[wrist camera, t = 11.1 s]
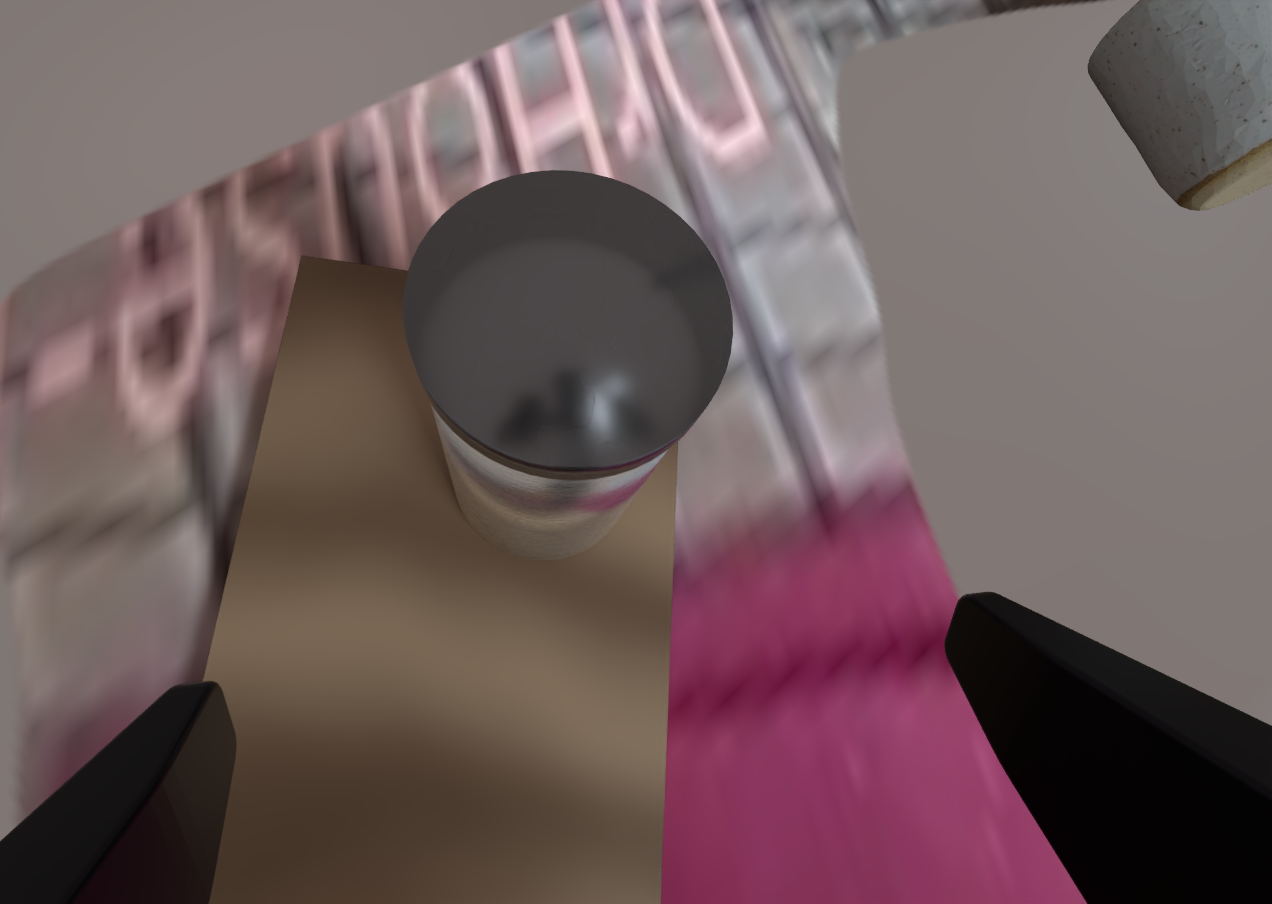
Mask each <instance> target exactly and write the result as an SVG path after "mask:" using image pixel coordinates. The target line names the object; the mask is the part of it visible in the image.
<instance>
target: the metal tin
mask: <svg viewBox="0 0 1272 904" xmlns="http://www.w3.org/2000/svg"><path fill="white" fill-rule="evenodd" d="M403 322H404V328H405V334H406V340H407V344H408V348H409V351H410V354H411V358H412V361H413V364H414V367H415V370H416V373H417V376H418V380H419V382H420V384H421V386H422V388H423V390H424V392H425V394H426V397H427V399H428V400H429V402H430V403H431V406H432V410H433V414H434V417H435V421H436V424H437V428H438V432H439V435H440V439H441V443H442V446H443V450H444V454H445V457H446V461H447V464H448V468H449V472H450V475H451V479H452V483H453V486H454V490H455V493H456V497H457V500H458V503H459V506H460V508H461V510H462V512H463V514H464V516H465V518H466V519H467V521H468V522H469V524H470V525H471V527H472V528H473V529H474V530H475V531H476V532H477V533H478V534H479V535H480V536H481V537H482V538H483V539H484V540H486V541H487V542H488V543H489V544H491V545H492V546H494V547H496V548H497V549H499V550H501V551H503V552H505V553H507V554H510V555H513V556H516V557H519V558H524V559H529V560H541V561H546V560H557V559H562V558H566V557H570V556H573V555H575V554H578V553H580V552H582V551H584V550H586V549H588V548H590V547H591V546H593V545H594V544H596V543H597V542H599V541H600V540H601V539H602V538H603V537H604V536H605V535H606V534H607V533H608V532H609V531H610V530H611V529H612V527H613V526H614V525H615V524H616V522H617V521H618V520H619V518H620V517H621V515H622V514H623V513H624V511H625V510H626V508H627V507H628V506H629V504H630V503H631V501H632V500H633V499H634V497H635V496H636V494H637V493H638V492H639V490H640V489H641V487H642V486H643V485H644V483H645V482H646V480H647V479H648V478H649V476H650V475H651V473H652V472H653V471H654V469H655V468H656V466H657V465H658V464H659V462H660V461H661V460H662V458H663V457H664V455H665V454H666V453H667V451H668V450H669V449H670V448H671V447H672V446H673V445H674V444H675V443H676V442H678V441H679V440H680V439H681V438H682V437H683V436H684V435H685V434H686V433H687V431H688V430H689V429H690V428H691V427H692V426H693V424H694V423H695V422H696V421H697V419H698V418H699V417H700V415H701V414H702V413H703V411H704V410H705V409H706V407H707V406H708V404H709V403H710V401H711V400H712V398H713V396H714V395H715V393H716V391H717V390H718V388H719V386H720V383H721V381H722V379H723V376H724V374H725V372H726V368H727V365H728V361H729V357H730V354H731V346H732V337H733V321H732V311H731V304H730V298H729V295H728V291H727V288H726V285H725V281H724V279H723V276H722V274H721V272H720V270H719V268H718V265H717V263H716V261H715V260H714V258H713V256H712V255H711V253H710V251H709V250H708V248H707V247H706V245H705V244H704V243H703V241H702V240H701V239H700V238H699V236H698V235H697V234H696V232H695V231H694V230H693V229H692V228H691V227H690V226H689V225H688V224H687V223H686V222H685V221H684V220H683V219H682V218H681V217H680V216H679V215H677V214H676V213H675V212H674V211H672V210H671V209H670V208H669V207H667V206H666V205H665V204H663V203H662V202H660V201H658V200H657V199H655V198H654V197H652V196H650V195H649V194H647V193H645V192H643V191H641V190H639V189H637V188H635V187H633V186H631V185H628V184H625V183H623V182H620V181H617V180H614V179H612V178H608V177H604V176H599V175H595V174H591V173H584V172H576V171H556V170H550V171H539V172H530V173H525V174H520V175H515V176H511V177H508V178H505V179H501V180H498V181H495V182H493V183H490V184H488V185H486V186H484V187H482V188H480V189H478V190H476V191H474V192H472V193H471V194H469V195H468V196H466V197H464V198H463V199H461V200H460V201H458V202H457V203H456V204H455V205H453V206H452V207H451V208H450V209H449V210H448V211H446V212H445V213H444V214H443V215H442V216H441V217H440V218H439V219H438V221H437V222H436V223H435V224H434V225H433V226H432V227H431V228H430V230H429V231H428V233H427V234H426V236H425V237H424V239H423V240H422V242H421V243H420V245H419V247H418V249H417V251H416V253H415V256H414V258H413V260H412V262H411V265H410V268H409V272H408V275H407V278H406V282H405V290H404V297H403Z"/></svg>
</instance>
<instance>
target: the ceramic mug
mask: <svg viewBox="0 0 1272 904" xmlns="http://www.w3.org/2000/svg"><path fill="white" fill-rule="evenodd" d="M1088 73H1089V75H1090V77H1091V79H1092V80H1093V82H1094V83H1095V85H1096V86H1097V88H1098V90H1099V91H1100V93H1101V94H1102V96H1103V97H1104V99H1105V100H1106V102H1107V104H1108V105H1109V107H1110V108H1111V110H1112V112H1113V113H1114V115H1115V117H1116V118H1117V120H1118V121H1119V123H1120V125H1121V126H1122V128H1123V129H1124V130H1125V132H1126V133H1127V135H1128V136H1129V137H1130V139H1131V140H1132V141H1133V143H1134V144H1135V146H1136V147H1137V149H1138V151H1139V152H1140V154H1141V156H1142V157H1143V159H1144V161H1145V163H1146V164H1147V166H1148V168H1149V169H1150V171H1151V172H1152V174H1153V176H1154V177H1155V179H1156V180H1157V182H1158V184H1159V185H1160V186H1161V187H1162V188H1163V189H1164V190H1165V192H1166V193H1167V194H1168V195H1169V196H1170V197H1171V198H1172V199H1173V200H1174V201H1175V202H1176V203H1177V204H1178V205H1179V206H1181V207H1184V208H1187V209H1190V210H1198V211H1200V210H1208V209H1211V208H1214V207H1217V206H1221V205H1224V204H1226V203H1228V202H1231V201H1233V200H1236V199H1238V198H1241V197H1243V196H1245V195H1248V194H1250V193H1252V192H1254V191H1257V190H1259V189H1261V188H1263V187H1265V186H1267V185H1269V184H1271V183H1272V0H1140V1H1139V2H1138V3H1136V4H1135V6H1133V7H1132V8H1131V9H1130V10H1129V11H1128V12H1127V13H1126V14H1125V15H1124V16H1122V17H1121V19H1120V20H1119V21H1118V22H1117V23H1116V24H1115V25H1114V26H1113V27H1112V28H1111V29H1110V31H1109V32H1108V33H1107V34H1106V35H1105V36H1104V38H1103V39H1102V40H1101V41H1100V43H1099V44H1098V46H1097V47H1096V49H1095V50H1094V52H1093V54H1092V55H1091V57H1090V59H1089V63H1088Z"/></svg>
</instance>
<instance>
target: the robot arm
mask: <svg viewBox="0 0 1272 904" xmlns="http://www.w3.org/2000/svg"><path fill="white" fill-rule="evenodd" d="M945 653H946V656H947V659H948V662H949V664H950V666H951V668H952V670H953V671H954V673H955V675H956V677H957V679H958V681H959V683H960V685H961V687H962V689H963V691H964V693H965V695H966V697H967V699H968V701H969V703H970V705H971V707H972V709H973V711H974V713H975V715H976V717H977V719H978V721H979V723H980V725H981V727H982V729H983V731H984V733H985V735H986V737H987V739H988V741H989V743H990V745H991V747H992V749H993V751H994V753H995V754H996V756H997V758H998V760H999V762H1000V764H1001V765H1002V767H1003V769H1004V770H1005V772H1006V774H1007V776H1008V777H1009V779H1010V781H1011V782H1012V784H1013V785H1014V787H1015V789H1016V790H1017V792H1018V793H1019V795H1020V797H1021V798H1022V800H1023V801H1024V803H1025V805H1026V806H1027V808H1028V810H1029V811H1030V813H1031V814H1032V816H1033V818H1034V819H1035V821H1036V822H1037V824H1038V826H1039V827H1040V829H1041V830H1042V832H1043V834H1044V835H1045V837H1046V838H1047V840H1048V842H1049V843H1050V845H1051V846H1052V848H1053V850H1054V851H1055V853H1056V854H1057V856H1058V858H1059V859H1060V861H1061V862H1062V864H1063V866H1064V867H1065V869H1066V870H1067V872H1068V874H1069V875H1070V877H1071V878H1072V880H1073V882H1074V883H1075V885H1076V886H1077V888H1078V890H1079V891H1080V893H1081V894H1082V896H1083V898H1084V899H1085V901H1086V902H1087V904H1272V726H1271V725H1269V724H1267V723H1265V722H1262V721H1261V720H1258V719H1256V718H1254V717H1252V716H1250V715H1248V714H1246V713H1244V712H1242V711H1240V710H1238V709H1236V708H1234V707H1231V706H1229V705H1227V704H1225V703H1223V702H1221V701H1219V700H1217V699H1215V698H1213V697H1211V696H1208V695H1206V694H1205V693H1202V692H1200V691H1198V690H1196V689H1194V688H1192V687H1190V686H1188V685H1186V684H1184V683H1181V682H1180V681H1177V680H1175V679H1173V678H1171V677H1169V676H1167V675H1165V674H1163V673H1161V672H1159V671H1157V670H1155V669H1153V668H1151V667H1148V666H1146V665H1144V664H1142V663H1140V662H1138V661H1136V660H1134V659H1132V658H1130V657H1128V656H1126V655H1124V654H1122V653H1119V652H1117V651H1115V650H1113V649H1111V648H1109V647H1107V646H1105V645H1103V644H1100V643H1099V642H1097V641H1094V640H1092V639H1090V638H1088V637H1086V636H1084V635H1082V634H1080V633H1078V632H1076V631H1074V630H1072V629H1070V628H1067V627H1065V626H1063V625H1061V624H1059V623H1057V622H1055V621H1053V620H1051V619H1049V618H1047V617H1044V616H1043V615H1041V614H1039V613H1036V612H1034V611H1032V610H1030V609H1028V608H1026V607H1024V606H1022V605H1020V604H1018V603H1016V602H1014V601H1012V600H1009V599H1007V598H1005V597H1003V596H1001V595H999V594H997V593H994V592H981V593H972V594H966V595H963V596H962V597H961V598H960V599H959V600H958V602H957V605H956V608H955V611H954V614H953V617H952V620H951V623H950V626H949V629H948V632H947V635H946V638H945ZM236 750H237V739H236V733H235V729H234V726H233V722H232V719H231V716H230V713H229V710H228V706H227V703H226V700H225V697H224V693H223V690H222V688H221V686H220V685H219V684H218V683H217V682H214V681H203V682H194V683H186V684H179V685H176V686H173V687H172V688H170V689H169V690H167V691H166V692H165V693H164V694H163V695H162V696H161V697H159V698H158V699H157V700H156V701H155V702H154V703H153V704H152V705H151V706H149V707H148V708H147V709H146V710H145V711H144V712H143V713H142V714H141V715H139V716H138V717H137V718H136V719H135V720H134V721H133V722H132V723H131V724H129V725H128V726H127V727H126V728H125V729H124V730H123V731H122V732H121V733H120V734H118V735H117V736H116V737H115V738H114V739H113V740H112V741H111V742H110V743H108V744H107V745H106V746H105V747H104V748H103V749H102V750H101V751H100V752H98V753H97V754H96V755H95V756H94V757H93V758H92V759H91V760H90V761H89V762H87V763H86V764H85V765H84V766H83V767H82V768H81V769H80V770H79V771H77V772H76V773H75V774H74V775H73V776H72V777H71V778H70V779H69V780H67V781H66V782H65V783H64V784H63V785H62V786H61V787H60V788H59V789H58V790H56V791H55V792H54V793H53V794H52V795H51V796H50V797H49V798H48V799H46V800H45V801H44V802H43V803H42V804H41V805H40V806H39V807H38V808H36V809H35V810H34V811H33V812H32V813H31V814H30V815H29V816H28V817H26V818H25V819H24V820H23V821H22V822H21V823H20V824H19V825H18V826H17V827H15V828H14V829H13V830H12V831H11V832H10V833H9V834H8V835H7V836H5V837H4V839H2V840H1V841H0V904H209V901H210V897H211V892H212V887H213V882H214V877H215V871H216V865H217V860H218V854H219V849H220V843H221V837H222V832H223V826H224V821H225V815H226V809H227V804H228V798H229V792H230V787H231V781H232V776H233V770H234V764H235V759H236Z"/></svg>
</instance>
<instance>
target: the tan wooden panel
mask: <svg viewBox="0 0 1272 904" xmlns="http://www.w3.org/2000/svg"><path fill="white" fill-rule="evenodd" d="M408 272H409V271H405V270H398V269H391V268H384V267H377V266H370V265H363V264H356V263H350V262H343V261H336V260H329V259H322V258H315V257H308V256H301V260H300V264H299V269H298V273H297V277H296V282H295V286H294V290H293V294H292V299H291V303H290V307H289V312H288V316H287V320H286V325H285V329H284V333H283V338H282V342H281V346H280V351H279V355H278V359H277V363H276V368H275V372H274V376H273V381H272V385H271V389H270V394H269V398H268V402H267V407H266V411H265V415H264V420H263V424H262V428H261V432H260V437H259V441H258V445H257V450H256V454H255V458H254V463H253V467H252V471H251V476H250V480H249V484H248V489H247V493H246V497H245V501H244V506H243V510H242V514H241V519H240V523H239V527H238V532H237V536H236V540H235V545H234V549H233V553H232V558H231V562H230V566H229V570H228V575H227V579H226V583H225V588H224V592H223V596H222V601H221V605H220V609H219V614H218V618H217V622H216V627H215V631H214V635H213V639H212V644H211V648H210V652H209V657H208V661H207V665H206V670H205V674H204V678H203V681H214V682H217V683H218V684H219V685H220V686H221V688H222V690H223V693H224V697H225V700H226V703H227V706H228V710H229V713H230V716H231V719H232V722H233V726H234V729H235V733H236V739H237V750H236V759H235V764H234V770H233V776H232V781H231V787H230V792H229V798H228V804H227V809H226V815H225V821H224V826H223V832H222V837H221V843H220V849H219V854H218V860H217V865H216V871H215V877H214V882H213V887H212V892H211V897H210V901H209V904H661V878H662V851H663V825H664V798H665V772H666V745H667V719H668V692H669V666H670V639H671V613H672V586H673V560H674V533H675V507H676V480H677V454H678V442H676V443H675V444H674V445H673V446H672V447H671V448H670V449H669V450H668V451H667V453H666V454H665V455H664V457H663V458H662V460H661V461H660V462H659V464H658V465H657V466H656V468H655V469H654V471H653V472H652V473H651V475H650V476H649V478H648V479H647V480H646V482H645V483H644V485H643V486H642V487H641V489H640V490H639V492H638V493H637V494H636V496H635V497H634V499H633V500H632V501H631V503H630V504H629V506H628V507H627V508H626V510H625V511H624V513H623V514H622V515H621V517H620V518H619V520H618V521H617V522H616V524H615V525H614V526H613V527H612V529H611V530H610V531H609V532H608V533H607V534H606V535H605V536H604V537H603V538H602V539H601V540H600V541H599V542H597V543H596V544H594V545H593V546H591V547H590V548H588V549H586V550H584V551H582V552H580V553H578V554H575V555H573V556H570V557H566V558H562V559H557V560H546V561H541V560H529V559H524V558H519V557H516V556H513V555H510V554H507V553H505V552H503V551H501V550H499V549H497V548H496V547H494V546H492V545H491V544H489V543H488V542H487V541H486V540H484V539H483V538H482V537H481V536H480V535H479V534H478V533H477V532H476V531H475V530H474V529H473V528H472V527H471V525H470V524H469V522H468V521H467V519H466V518H465V516H464V514H463V512H462V510H461V508H460V506H459V503H458V500H457V497H456V493H455V490H454V486H453V483H452V479H451V475H450V472H449V468H448V464H447V461H446V457H445V454H444V450H443V446H442V443H441V439H440V435H439V432H438V428H437V424H436V421H435V417H434V414H433V410H432V406H431V403H430V402H429V400H428V399H427V397H426V394H425V392H424V390H423V388H422V386H421V384H420V382H419V380H418V376H417V373H416V370H415V367H414V364H413V361H412V358H411V354H410V351H409V348H408V344H407V340H406V334H405V328H404V322H403V297H404V290H405V282H406V278H407V275H408Z"/></svg>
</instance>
